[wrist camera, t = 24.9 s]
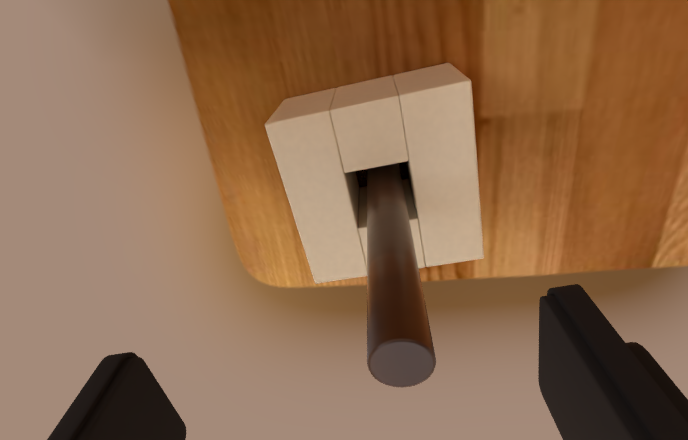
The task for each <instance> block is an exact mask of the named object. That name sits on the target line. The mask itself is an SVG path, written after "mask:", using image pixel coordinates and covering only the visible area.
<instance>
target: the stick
mask: <svg viewBox="0 0 688 440" xmlns="http://www.w3.org/2000/svg"><path fill="white" fill-rule="evenodd" d="M367 364H368V368H369V371H370V372H371V374H372V375H373V376H374V377H375V379H377V380H378V381H379V382H381V383H383V384H386V385H389V386H393V387H410V386H414V385H417V384H420V383H422V382H423V381H425V380H426V379H428V378H429V377H430V375H431V374H432V373H433V371H434V368H435V365H436V358H435V353H434V347H433V342H432V337H431V332H430V326H429V321H428V316H427V311H426V305H425V300H424V295H423V290H422V284H421V279H420V274H419V268H418V263H417V258H416V253H415V247H414V242H413V237H412V232H411V226H410V221H409V216H408V211H407V205H406V200H405V195H404V190H403V184H402V179H401V174H400V169H399V163H395V164H390V165H385V166H380V167H374V168H369V169H367Z"/></svg>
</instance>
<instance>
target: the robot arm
mask: <svg viewBox="0 0 688 440" xmlns="http://www.w3.org/2000/svg"><path fill="white" fill-rule="evenodd" d="M539 311H540V312H539V386H540V389H541V392H542V395H543V398H544V400H545V402H546V404H547V406H548V408H549V411H550V413H551V415H552V417H553V419H554V421H555V423H556V425H557V428H558V430H559V432H560V434H561V436H562V438H563V440H688V400H687V398H686V397H685V396H684V395H683V393H682V392H681V391H680V390H679V389H678V387H677V386H676V385H675V384H674V383H673V381H672V380H671V379H670V378H669V376H668V375H667V374H666V373H665V372H664V370H663V369H662V368H661V367H660V366H659V364H658V363H657V362H656V361H655V359H654V358H653V357H652V356H651V355H650V353H649V352H648V351H647V350H646V349H645V348H644V347H643V346H641V345H640V344H638V343H636V342H635V343H633V342H630V343H625V342H624V341H623V340H622V338H621V337H620V336H619V334H618V333H617V332H616V331H615V329H614V328H613V327H612V325H611V324H610V323H609V321H608V320H607V319H606V318H605V316H604V315H603V314H602V313H601V311H600V310H599V309H598V307H597V306H596V305H595V303H594V302H593V301H592V300H591V299H590V297H589V296H588V294H587V293H586V292H585V291H584V290H583V288H582V287H581V286H580V285H578V284H575V285H568V286H562V287H555V288H550V289H549V290H548V293H547V296H542V297H541V298H540V307H539ZM185 438H186V427H185V424H184V422H183V421H182V419H181V418H180V416H179V415H178V413H177V411H176V410H175V409H174V407H173V405H172V404H171V402H170V401H169V399H168V398H167V396H166V394H165V393H164V391H163V390H162V388H161V387H160V385H159V383H158V382H157V381H156V379H155V377H154V376H153V374H152V373H151V371H150V369H149V368H148V366H147V365H146V363H145V362H144V360H143V359H142V358H140V357H138V356H137V355H136V354H135V353H132V352H129V353H122V354H115V355H109V356H107V357H105V358H104V359H103V360H102V361H101V363H100V364H99V365H98V367H97V368H96V370H95V371H94V373H93V374H92V375H91V377H90V378H89V380H88V381H87V383H86V384H85V386H84V387H83V388H82V390H81V391H80V393H79V394H78V396H77V397H76V399H75V400H74V402H73V403H72V404H71V406H70V408H69V409H68V410H67V412H66V413H65V415H64V416H63V418H62V419H61V420H60V422H59V424H58V425H57V426H56V428H55V429H54V431H53V432H52V434H51V435H50V436H49V438H48V439H47V440H185Z"/></svg>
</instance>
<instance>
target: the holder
mask: <svg viewBox="0 0 688 440" xmlns="http://www.w3.org/2000/svg"><path fill="white" fill-rule="evenodd" d="M265 128H266V131H267V135H268V138H269V141H270V144H271V147H272V150H273V153H274V157H275V160H276V163H277V166H278V169H279V172H280V175H281V178H282V182H283V185H284V188H285V191H286V194H287V197H288V200H289V204H290V207H291V210H292V213H293V216H294V219H295V222H296V226H297V229H298V232H299V235H300V238H301V241H302V244H303V247H304V251H305V254H306V257H307V260H308V263H309V266H310V269H311V273H312V276H313V279H314V282H315V283H316V284H317V283H324V282H330V281H337V280H344V279H350V278H357V277H364V276H367V186H366V187H360V189H359V185H358V180H357V176H356V171H359V170H364V169H369V168H374V167H380V166H385V165H390V164H395V163H401V162H406V164H407V170H408V177H409V179H404V180H402V184H403V190H404V195H405V200H406V205H407V211H408V216H409V221H410V226H411V232H412V237H413V242H414V247H415V253H416V258H417V263H418V268H424V267H425V266H426V267H430V266H436V265H443V264H450V263H456V262H463V261H470V260H476V259H483V258H484V249H483V235H482V221H481V207H480V193H479V180H478V166H477V152H476V138H475V124H474V111H473V97H472V83H471V80H470V79H469V78H468V77H466V76H465V75H464V74H463V73H461V72H460V71H459V70H458V69H456V68H455V67H454V66H453V65H452V64H450V63H445V64H440V65H436V66H431V67H427V68H422V69H418V70H413V71H409V72H404V73H400V74H395V75H393V76H392V75H390V76H386V77H381V78H377V79H372V80H368V81H363V82H359V83H354V84H350V85H345V86H341V87H337V88H332V89H328V90H323V91H319V92H314V93H310V94H305V95H301V96H296V97H292V98H287V99H284V100H283V102H282V103H281V104H280V106H279V107H278V108H277V109H276V111H275V112H274V113H273V114H272V116H271V117H270V118H269V119H268V121H267V122H266V123H265Z"/></svg>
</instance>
